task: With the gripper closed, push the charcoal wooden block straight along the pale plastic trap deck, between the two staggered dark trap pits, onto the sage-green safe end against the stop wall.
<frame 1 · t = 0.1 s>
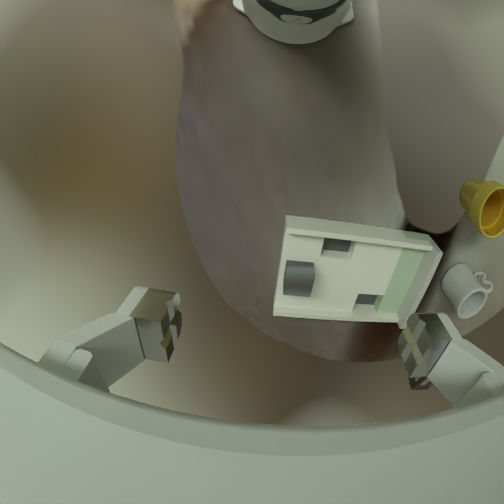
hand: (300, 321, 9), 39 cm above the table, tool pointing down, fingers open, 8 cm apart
trap deck: (352, 268, 54), on the table
mug: (459, 274, 52), on the table
coffee box: (413, 332, 63), on the table
plant pot: (470, 192, 42), on the table
block: (297, 272, 52), point 3 cm above the table, touching trap deck
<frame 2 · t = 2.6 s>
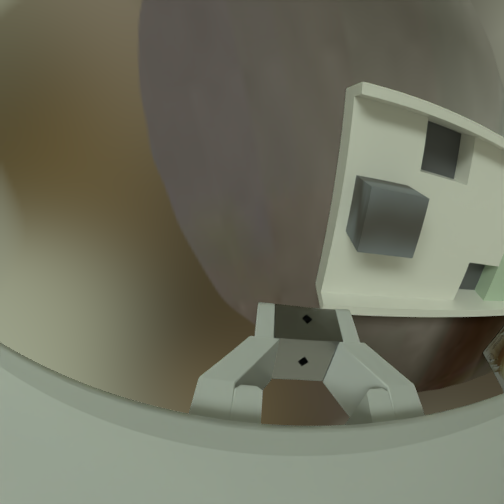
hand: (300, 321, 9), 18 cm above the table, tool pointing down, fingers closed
trap deck: (455, 216, 24), on the table
coffee box: (502, 335, 32), on the table
block: (377, 208, 22), point 3 cm above the table, touching trap deck
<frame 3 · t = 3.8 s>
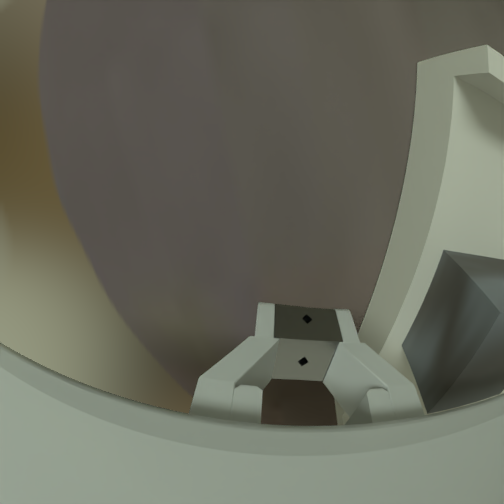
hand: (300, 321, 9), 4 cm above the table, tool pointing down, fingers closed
block: (461, 303, 10), point 3 cm above the table, touching trap deck
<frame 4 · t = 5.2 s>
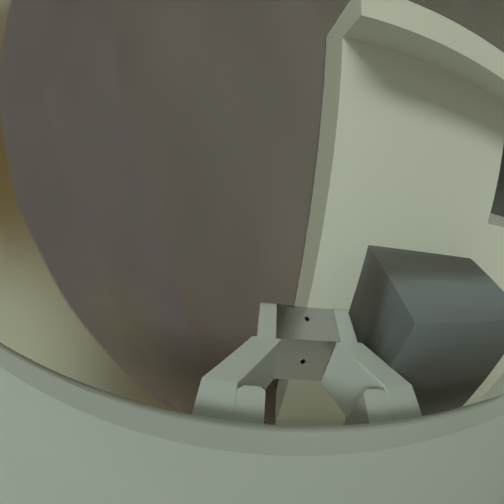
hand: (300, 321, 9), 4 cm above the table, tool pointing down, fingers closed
block: (405, 307, 10), point 3 cm above the table, touching gripper
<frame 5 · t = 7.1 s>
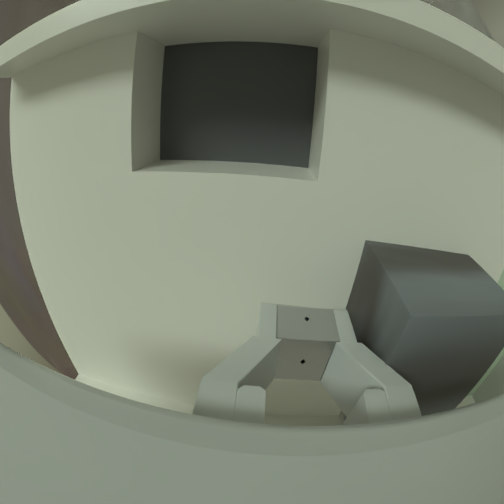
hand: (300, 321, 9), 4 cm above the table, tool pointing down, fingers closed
trap deck: (337, 257, 12), on the table
block: (403, 303, 10), point 3 cm above the table, touching gripper
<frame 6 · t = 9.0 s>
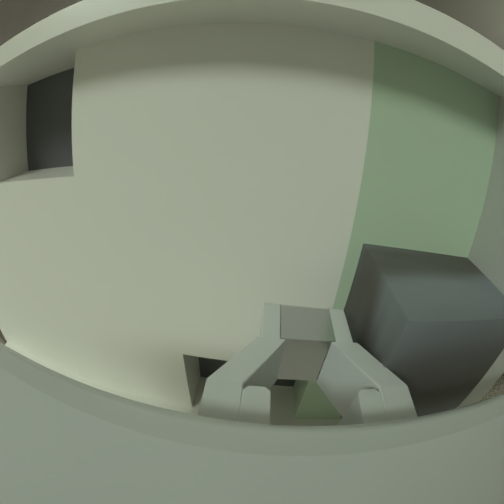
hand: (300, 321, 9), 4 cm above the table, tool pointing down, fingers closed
trap deck: (155, 243, 13), on the table
block: (401, 306, 10), point 3 cm above the table, touching gripper, trap deck
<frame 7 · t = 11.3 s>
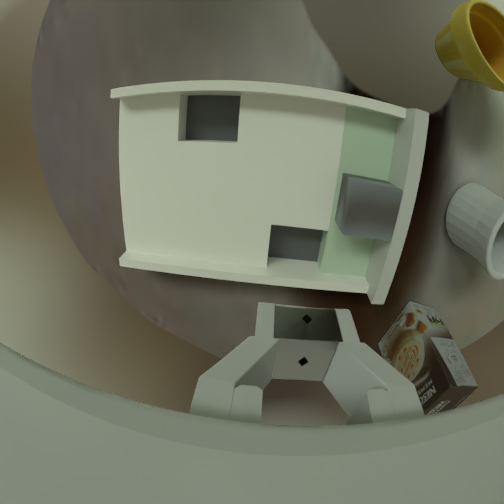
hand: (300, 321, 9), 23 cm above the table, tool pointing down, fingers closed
trap deck: (256, 178, 29), on the table
mug: (474, 209, 28), on the table
coffee box: (406, 326, 37), on the table
plant pot: (454, 54, 19), on the table
block: (361, 200, 26), point 3 cm above the table, touching trap deck
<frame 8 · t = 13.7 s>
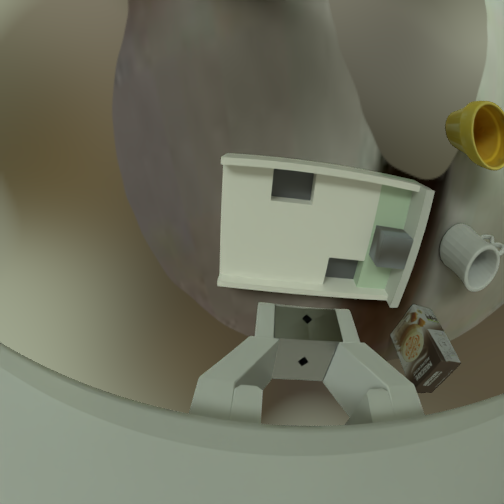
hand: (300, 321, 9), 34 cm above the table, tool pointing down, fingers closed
trap deck: (318, 225, 43), on the table
mug: (461, 240, 42), on the table
coffee box: (410, 321, 51), on the table
plant pot: (458, 129, 33), on the table
block: (386, 241, 40), point 3 cm above the table, touching trap deck
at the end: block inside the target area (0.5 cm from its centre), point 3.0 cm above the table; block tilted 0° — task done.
